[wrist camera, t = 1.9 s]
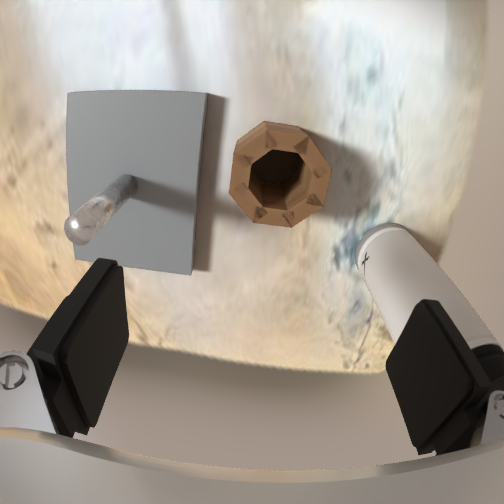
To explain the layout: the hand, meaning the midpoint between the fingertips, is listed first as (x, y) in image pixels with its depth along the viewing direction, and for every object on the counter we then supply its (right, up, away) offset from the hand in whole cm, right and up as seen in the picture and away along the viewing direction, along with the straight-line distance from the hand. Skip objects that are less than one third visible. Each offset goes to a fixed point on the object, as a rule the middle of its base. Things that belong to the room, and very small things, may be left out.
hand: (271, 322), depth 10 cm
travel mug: (+12, +2, +21) cm, 24 cm away
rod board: (-11, +8, +17) cm, 22 cm away
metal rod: (-11, +8, +16) cm, 21 cm away
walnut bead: (+1, +10, +16) cm, 19 cm away
